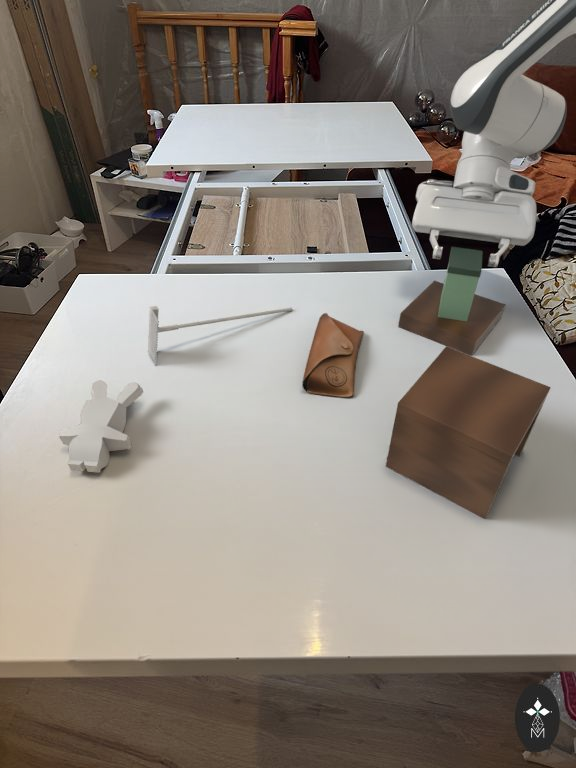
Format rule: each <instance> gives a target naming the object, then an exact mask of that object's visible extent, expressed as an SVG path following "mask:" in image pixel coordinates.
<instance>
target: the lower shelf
mask: <svg viewBox="0 0 576 768" xmlns="http://www.w3.org/2000/svg"><path fill="white" fill-rule="evenodd" d="M443 285H444V282H440V281H437V280H433V281H432V282H431V283H430V284H429V285H428V286H427V287H426V288H425V289H424V290H423V291H422V292H421V293H419V294H418V296H417V297H416V298H414V300H413V301H411V302H410V303H409V304H408V305H406V307H405V308H404V309H403V310H402V311H401V312H400V314H399V319H398V325H397V328H400V329H402V330H405V331H408V332H410V333H413V334H415V335H418V336H421V337H423V338H426V339H428V340H431V341H432V342H433V341H434V342H436V343H438V344H441V345H443V346H445V347H446V346H447V347H450V348H452V349H455V350H457V351H460V352H462V353H465V354H467V355H470V356H472V357H473V355H474V354H475V352H476V351H477V350H478V348H479V347H480V346H481V345H482V343H483V342H484V340H485V339H487V337H488V335H489V334H490V333H491V332H492V331H493V330H494V328H495V326H496V325H497V324H498V323H499V322H500V320H501V319H502V318H503V314H504V310H505V308H506V304H505V303H503V302H499V301H497V300H493V299H490V298H489V297H488V298H487V297H485V296H482V295H479V294H476V293H475V294H474V298H473V302H472V305H471V309H470V313H469V316H468V320H467V322H466V321H460V320H454V319H448V318H442V317H438V312H439V306H440V300H441V294H442V290H443Z"/></svg>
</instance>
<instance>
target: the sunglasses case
mask: <svg viewBox="0 0 576 768" xmlns="http://www.w3.org/2000/svg"><path fill="white" fill-rule="evenodd" d="M364 335H365V331H363V330H359V329H357V328H355V327H353V326H351V325H348V324H346V323H344V322H342V321H340V320H337V319H336V318H334V317H331V316H329V314H328V313H327V312H325V313H323V314H321V315H320V316H319V319H318V322H317V325H316V327H315V331H314V335H313V339H312V342H311V346H310V350H309V353H308V357H307V360H306V364H305V368H304V372H303V378H302V382H301V383H302V389H303V390H304V391H305V392H306V393H308V394H310V395H311V394H312V395H317V396H321V397H330V398H331V397H333V398H352V397H354V394H355V377H356V368H357V363H358V358H359V357H358V356H359V352H360V346H361V343H362V339H363V337H364Z"/></svg>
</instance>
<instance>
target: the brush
mask: <svg viewBox="0 0 576 768" xmlns="http://www.w3.org/2000/svg"><path fill="white" fill-rule="evenodd" d="M148 311H149V313H148V315H149V316H148V334H147V335H148V339H147V354H148V356H149V357H150V359H151V362H152V363H153V365H154V366H157V361H158V360H157V359H158V357H157V356H158V345H159V342H158V341H159V333H163V332H164V333H165V332H170V331H178V330H179V329H184V328H190V327H197V326H203V325H211V324H215V323H223V322H230V321H234V320H235V321H236V320H242V319H249V318H253V317H254V318H255V317H260V316H261V317H262V316H267V315H274V314H281V313H287V312H293V308H292V307H285V308H279V309H273V310H267V311H259V312H253V313H246V314H240V315H239V314H238V315H233V316H227V317H226V316H225V317H220V318H213V319H208V320H207V319H206V320H200V321H195V322H194V321H193V322H187V323H180V324H171V325H163V326H159V323H160V321H159V312H160V311H159V307H158V306H157V305H154V306H153V305H152V306H149V310H148Z"/></svg>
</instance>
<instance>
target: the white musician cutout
mask: <svg viewBox="0 0 576 768" xmlns="http://www.w3.org/2000/svg"><path fill="white" fill-rule="evenodd" d="M91 384H92V385H91V389H90V395H91V398H92V399H87V400H85V402H84V403H83V406H82V408H81V411H80V418H79V419H80V420H79V421H80V423H79V424H77V425H74V426H71V427H67V428H64V429H61V430H59V434H58V437H59V439H60V441H61V443H62V445H64V446H69V447H68V462H67V466H68V467H69V469H70V470H71V471H76V472H77V471H78V472H83V471H85V470H86V471H87V472H88V473H89V472H90V473H101V470H102V469H103V468H106V467H107V466H108V465H109V464H110V459H111V456H110V452H113V451H123V450H130V448H131V446H132V443H131V439H130V438H129V437H130V436H129V435H128V434H126V433H124V430H125V428H126V425H127V407H129V406H131V404H133V403H134V402H135V401H136V400H138V399H139V398H140V397H141V396H142V395H143V394H144V390H143V387H141V385H140V384H139V383H137V382H130V383H128V384H126V385H125V386H123V388H122V390H121V391H120V392H119V393H118V395H117V396H116V397H115V398H114V399H112V398H110V397H108V384H107V382H106V381H104V380H95V381H94V382H92V383H91Z"/></svg>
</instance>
